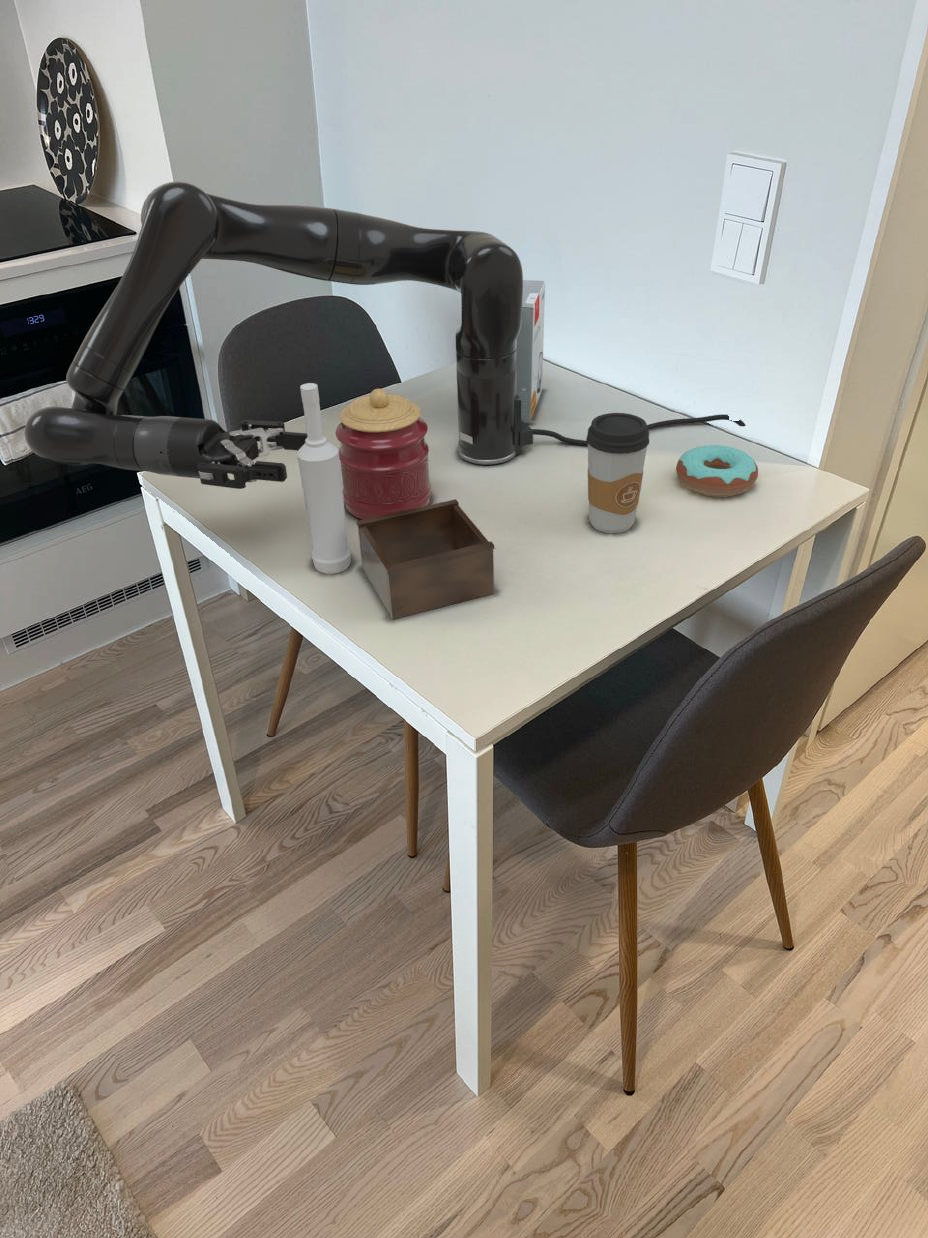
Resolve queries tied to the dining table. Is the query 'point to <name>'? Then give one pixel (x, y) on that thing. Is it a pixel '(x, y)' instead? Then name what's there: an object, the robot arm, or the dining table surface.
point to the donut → (717, 470)
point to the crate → (426, 558)
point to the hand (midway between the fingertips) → (298, 457)
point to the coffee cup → (615, 470)
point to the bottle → (322, 490)
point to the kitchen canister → (383, 455)
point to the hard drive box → (530, 348)
